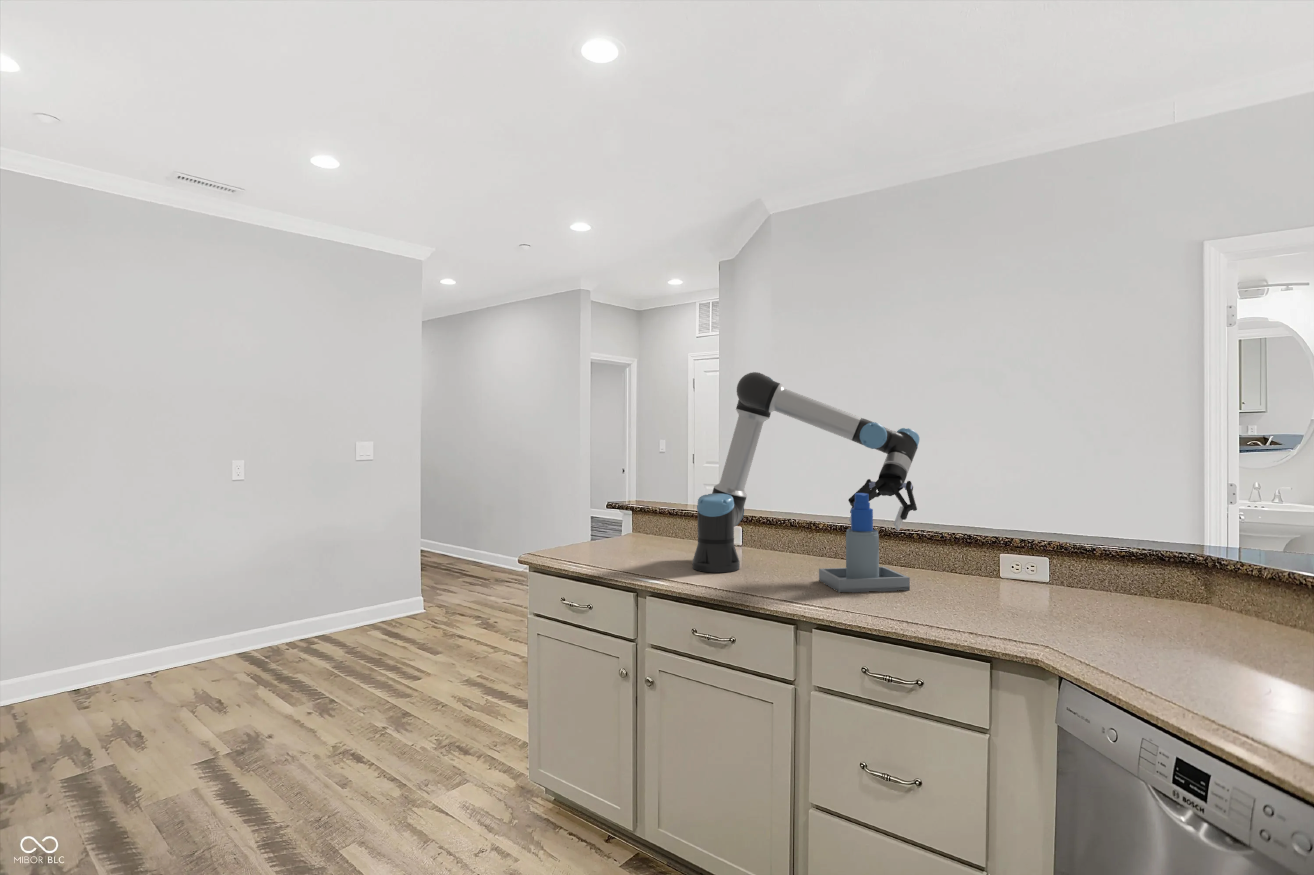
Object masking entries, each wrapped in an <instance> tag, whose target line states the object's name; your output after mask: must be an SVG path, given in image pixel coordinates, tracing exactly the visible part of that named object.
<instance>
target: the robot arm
mask: <svg viewBox="0 0 1314 875" xmlns="http://www.w3.org/2000/svg"><path fill="white" fill-rule="evenodd" d="M736 396H737V398H738V400H737V404H736V407H735V408H736V409H735V410H736V412H737V414H738V417H737V421H736V424H735V428H734V431H733V433H732V434H733V435H732V438H731V441H730V446H729V449H728V453H727V456H726V459H725V464H724V466H723V470H722V473H721V477H720V481H719V483H717V484H715V485H714V486H713V490H712V493H708V494H703V495H701V496H699V497H698V499H697V506H696V510H697V545H696V549H695V552H694V556H693V558H692V569H693V570H695V571H697V572H698V571H699V572H704V573H718V574H719V573H731V572H735V571H739V570H740V568H741V566H740V562H741V561H740V558H739V555H738V553H737V552H738V551H737V549H736V546H735V527H736V526H738V525H739V524H741V521H743V518H744V514H745V505H746V500H747V497H748V495H747V492H746V491H745V488H746V484H747V481H748V477H749V475H750V474H749V473H750V471H751V467H752V463H753V460H754V457H755V453H756V450H757V447H758V443H759V438H760V435H761V432H762V428H763V425H764V422H767V420H769V419H770V417H771V413H772V412H777V413H779V414H782V415H784V416H787V417H789V418H792V419H795V420H796V421H800V422H803V423H805V424H807V425H811V426H812V427H815V428H819V429H821V430H823V431H826V432H829V433H831V434H834V435H837V436H838V437H841V438H844V439H847V440H849V441H852V442H854V443H857V444H859V445H861V446H864V447H865V448H868V449H871V450H873V449H874V450H876V451H879V452H882V453H884V454H886V456H885V460H884V462H883V464H882V467H881V469H880V472H879V473H878V479H877V480H876V481H872V480H871V479H870V478H868V479H866V481H865V483H864V484H863V485H862V486H860V488H859V489H858V490H856V492H855V493H866V494H869V502H870V501H872V500H874V499H875V498H879V497H880V496H883V497H886V496H888V497H893V496H895V497H896V499H897V500H898V501H899V503H900V505H901V506H899V509H898V511H897V514H896V517H895V519H894V522H893V526H894V527H895V528H894V529H895V530H896V531H900V529H901V526H902V523H903V521H905V520H907V519H908V515H909V513H910V511H914V512H916V511H917V510H918V506H917V504H916V500H915V497H914V493H913V492H914V491H913V490H914V485H913V484H912V481H911V480H906V479H907V476H908V473H909V471H910V468H911V466H912V463H913V461H914V457H915V455H916V453H917V450H918V449H919V443H920V436H919V434H918V433H917V432H916V431H915V430H914V429H911V428H905V427H902V428H900V429H899V428H898V429H897V430H896V431H895V430H892V429H890V428H887V427H885V426H883V424H881V423H879V422H875V421H871V420H869V419H866V418H862V417H861V416H858V415H856V414H853V413H850V412H848V411H845V410H842V409H840V408H837V407H835V406H831V405H829V404H826V403H823V402H821V401H819V400H816V399H813V398H810V397H807V396H805V395H803V394H800V393H797V392H795V391H791V390H790V389H786V388H784V386H783V384H782V383H780V382H777V381H775V380H773V379H772V378H771V377H770V376H767V375H765V374H763V373H760V372H756V371H755V372H754V371H753V372H749V373H746V374H745V375H743V376H742V377H741V378H740V379H739V380H738V383H737V385H736ZM905 481H906V482H905ZM903 489H904V490H906V493H907V494H906V495H907V497H908V502H909V504H908V502H907V501H906V500H905V498H904V497H903V496H902V494H901V492H900V491H902V490H903ZM877 491H878V492H877ZM855 493H854V494H852V495H851V496H850V497H849V498H848V503H849V504H850V506H851V508H854V502H855ZM850 514H851V509H850ZM848 521H849V523H850V524H851V515H849V519H848Z"/></svg>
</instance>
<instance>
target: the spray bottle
mask: <svg viewBox="0 0 1314 875" xmlns="http://www.w3.org/2000/svg"><path fill="white" fill-rule="evenodd" d="M854 494H855V502H854V508H852V507H850V510H851V513H850V516H851V523H850V528H848V529H846V532H845V568H846V579H858V578H879V567H880V537H879V536H880V535H879V531H878V530H877V529H874V509H873V508H871V502H870V501H869V494H866V493H856V492H855V493H854Z"/></svg>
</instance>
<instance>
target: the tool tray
mask: <svg viewBox="0 0 1314 875" xmlns="http://www.w3.org/2000/svg"><path fill="white" fill-rule="evenodd" d="M910 578H911V577H909V576H907V575H904V574H902V573H900V572H898V571H895V570H894V569H890V568H889V567H886V566H879V578H858V579H846V567H830V568H828V567H827V568H823V567H822V568H818V581H819V580H820V581H819V582H820V583H822V582H823V583H822V584H824V583H825V584H824V585H826V586H827V585H828V586H827V587H829V588H830V587H831V588H830V589H832V588H833V590H834V589H835V590H837V591H838V592H837V591H836V592H837V593H839V592H852V593H870V592H869V591H878V592H895V591H896V592H897V590H898V591H899V590H904V591H910V590H911V589H910V586H911V585H910V581H911V580H910ZM835 590H834V591H835Z"/></svg>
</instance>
